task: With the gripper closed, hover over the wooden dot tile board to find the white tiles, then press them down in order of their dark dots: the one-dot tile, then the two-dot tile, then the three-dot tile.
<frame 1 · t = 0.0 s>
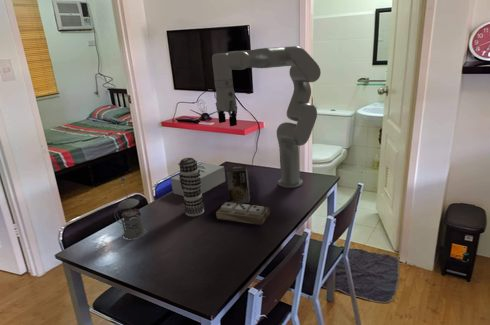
hand: (227, 124, 152), 37 cm above the table, tool pointing down, fingers open, 9 cm apart
tile two: (256, 211, 146), point 3 cm above the table, slide at 0.0 cm
tile three: (242, 209, 149), point 3 cm above the table, slide at 0.0 cm
tissue box: (200, 187, 185), on the table
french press: (133, 234, 143), on the table
tile one: (228, 207, 151), point 3 cm above the table, slide at 0.0 cm
coffee box: (240, 200, 165), on the table
wooden dot tile board: (243, 216, 150), on the table
decorative candle: (195, 212, 157), on the table
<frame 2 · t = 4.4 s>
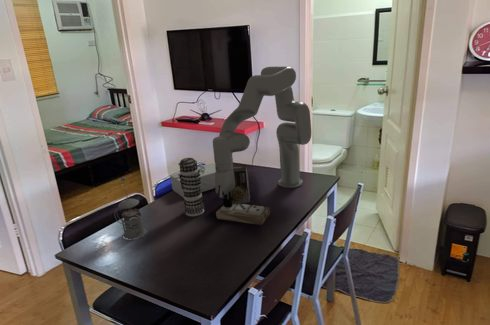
hand: (228, 206, 151), 4 cm above the table, tool pointing down, fingers closed
tile one: (229, 209, 152), point 2 cm above the table, slide at 0.6 cm, touching gripper
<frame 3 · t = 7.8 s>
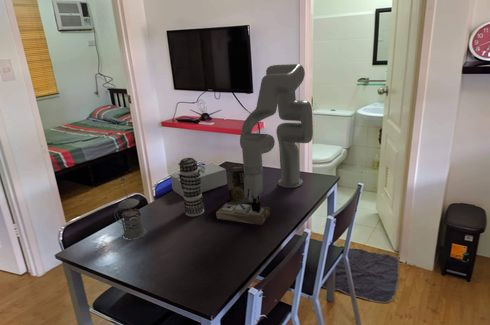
hand: (256, 210, 146), 4 cm above the table, tool pointing down, fingers closed
tile two: (256, 213, 146), point 2 cm above the table, slide at 1.0 cm, touching gripper
tile one: (229, 210, 152), point 2 cm above the table, slide at 1.1 cm
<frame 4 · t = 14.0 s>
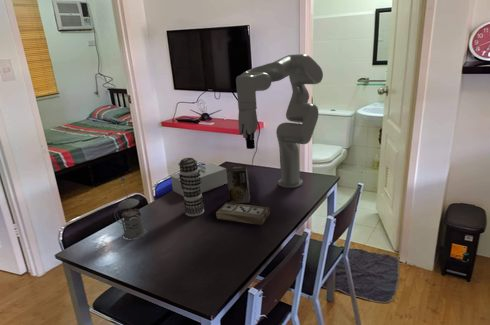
hand: (250, 148, 150), 27 cm above the table, tool pointing down, fingers closed
tile two: (256, 213, 146), point 2 cm above the table, slide at 1.1 cm
tile three: (242, 212, 149), point 2 cm above the table, slide at 1.1 cm
at the end: tile one slide at 1.1 cm; tile two slide at 1.1 cm; tile three slide at 1.1 cm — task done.
